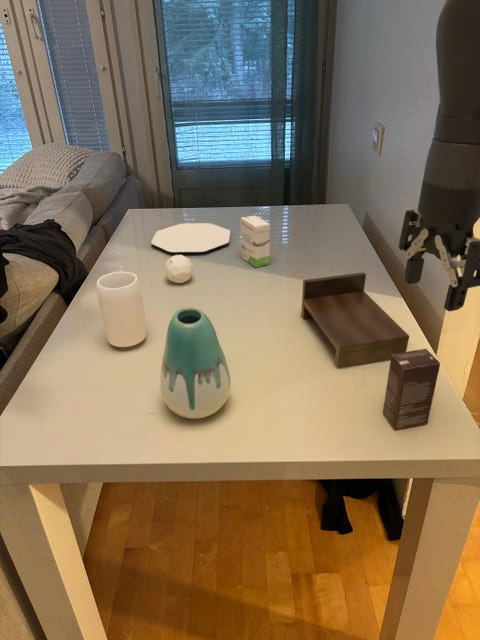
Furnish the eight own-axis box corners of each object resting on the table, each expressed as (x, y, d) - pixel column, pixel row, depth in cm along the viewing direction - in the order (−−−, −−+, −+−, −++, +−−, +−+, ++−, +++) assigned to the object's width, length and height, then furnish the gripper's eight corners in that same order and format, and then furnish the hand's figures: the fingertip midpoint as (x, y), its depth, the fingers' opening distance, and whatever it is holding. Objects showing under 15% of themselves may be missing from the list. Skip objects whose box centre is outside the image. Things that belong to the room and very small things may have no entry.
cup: (145, 352, 93) (135, 289, 86) (103, 353, 93) (89, 291, 86) (150, 329, 101) (142, 269, 93) (111, 331, 100) (99, 271, 93)
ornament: (198, 283, 118) (182, 267, 112) (173, 291, 121) (156, 275, 115) (198, 261, 122) (183, 244, 115) (174, 269, 124) (157, 252, 118)
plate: (228, 255, 134) (228, 250, 133) (146, 256, 134) (145, 251, 134) (231, 227, 154) (231, 222, 153) (160, 228, 155) (159, 223, 154)
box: (413, 406, 78) (426, 347, 72) (427, 425, 74) (443, 364, 68) (379, 411, 77) (390, 352, 71) (392, 431, 73) (405, 370, 67)
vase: (235, 424, 75) (232, 330, 66) (163, 432, 74) (149, 338, 65) (227, 379, 85) (223, 293, 76) (163, 386, 84) (151, 299, 75)
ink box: (270, 264, 128) (271, 223, 122) (254, 268, 126) (254, 226, 120) (255, 253, 134) (255, 214, 128) (240, 257, 133) (239, 217, 126)
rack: (359, 307, 106) (363, 272, 102) (405, 357, 90) (413, 317, 85) (301, 316, 104) (303, 280, 99) (337, 369, 87) (341, 328, 83)
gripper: (528, 189, 52) (491, 314, 60) (442, 162, 63) (421, 270, 72) (473, 197, 50) (442, 325, 58) (395, 168, 61) (379, 278, 70)
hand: (430, 295), depth 65 cm, fingers open, 8 cm apart
